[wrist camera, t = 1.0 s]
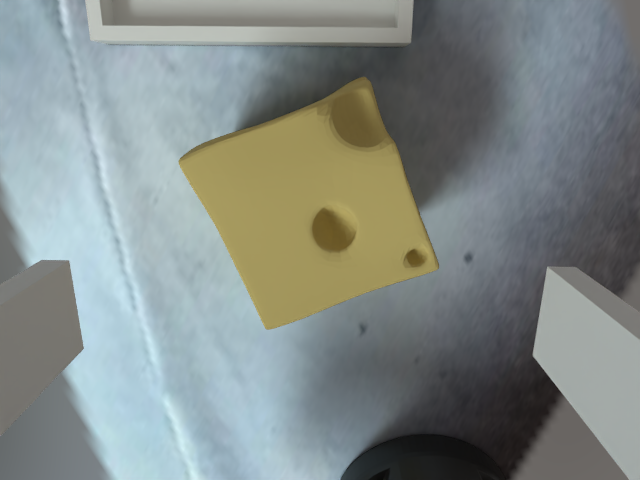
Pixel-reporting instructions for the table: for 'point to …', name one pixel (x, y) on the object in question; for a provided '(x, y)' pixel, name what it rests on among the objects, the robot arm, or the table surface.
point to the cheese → (313, 205)
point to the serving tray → (252, 22)
